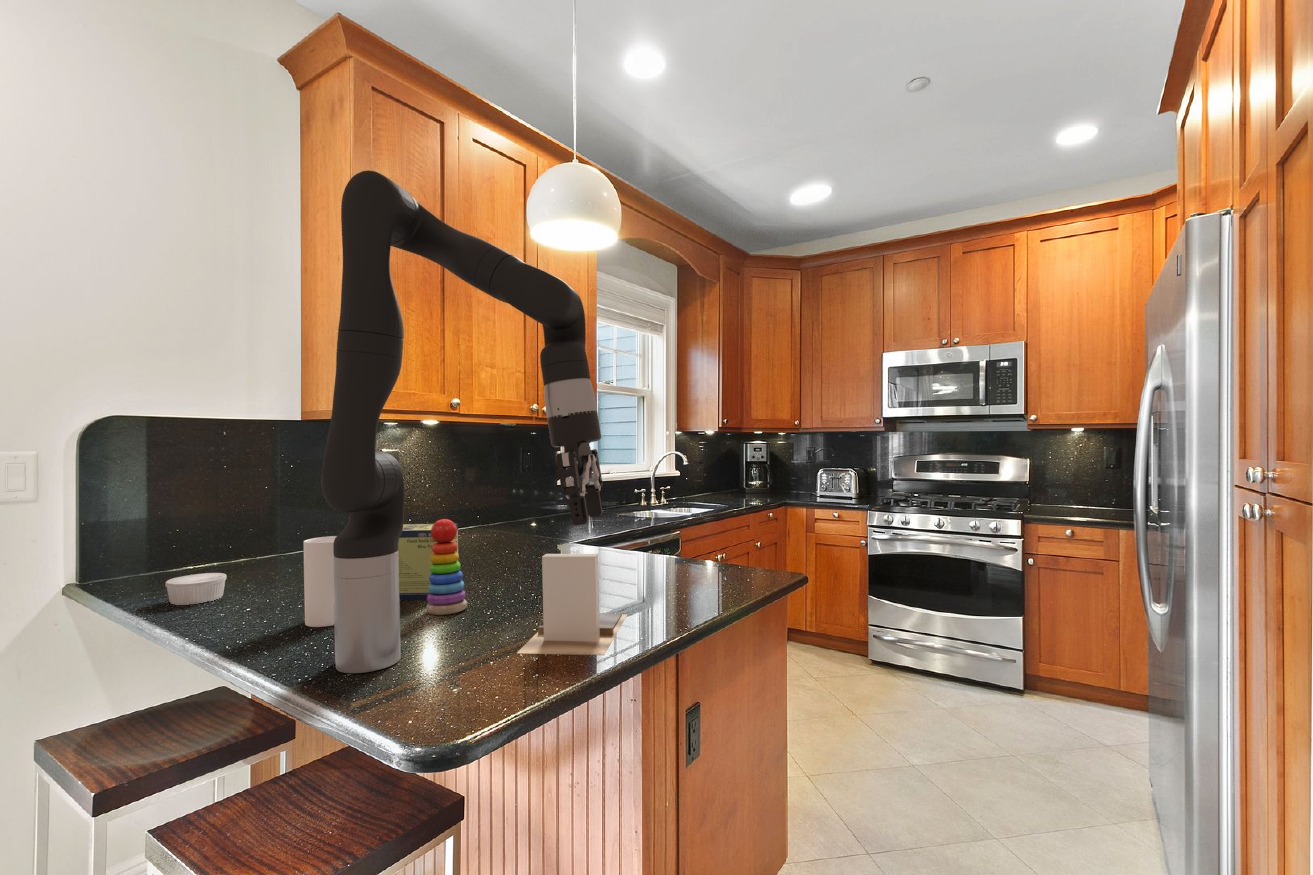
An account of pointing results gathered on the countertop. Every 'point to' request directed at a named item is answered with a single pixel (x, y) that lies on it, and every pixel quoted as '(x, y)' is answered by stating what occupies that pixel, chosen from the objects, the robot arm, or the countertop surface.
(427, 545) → the protein box
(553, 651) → the board
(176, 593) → the ramekin
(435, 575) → the stacking toy
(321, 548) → the cup
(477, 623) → the countertop surface
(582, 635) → the tile
